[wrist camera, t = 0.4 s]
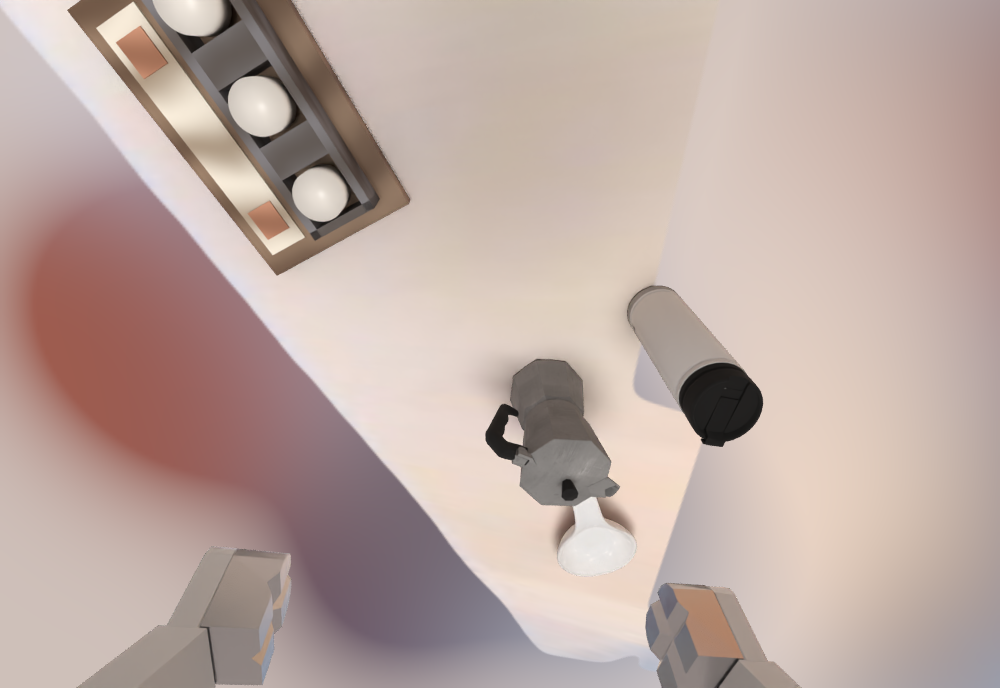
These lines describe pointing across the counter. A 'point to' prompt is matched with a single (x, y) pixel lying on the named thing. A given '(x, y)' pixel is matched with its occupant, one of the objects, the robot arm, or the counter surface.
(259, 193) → the button board
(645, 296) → the travel mug
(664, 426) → the counter surface
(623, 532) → the spoon rest
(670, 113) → the counter surface
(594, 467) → the coffeepot
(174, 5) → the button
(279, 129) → the button middle
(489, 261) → the counter surface
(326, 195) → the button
